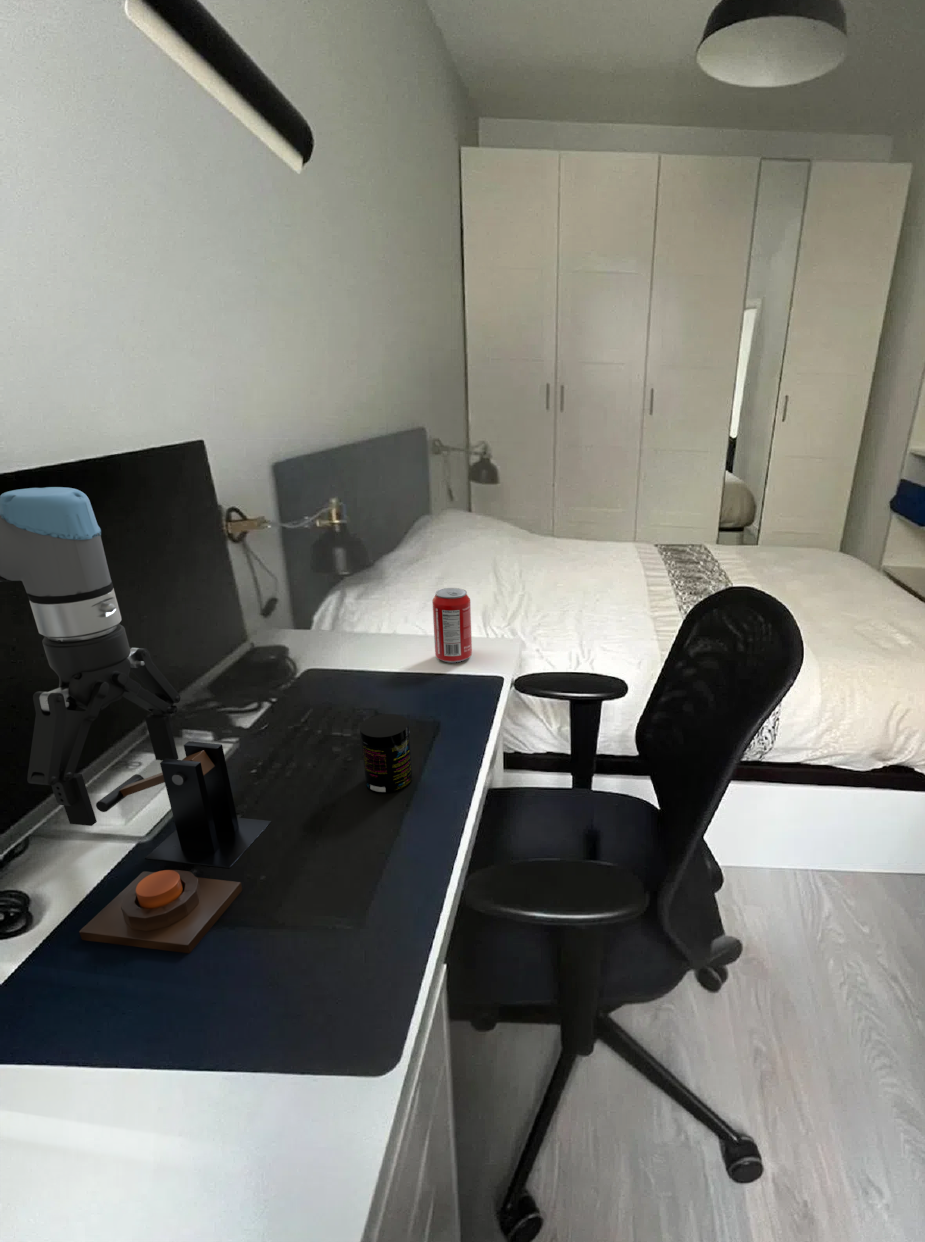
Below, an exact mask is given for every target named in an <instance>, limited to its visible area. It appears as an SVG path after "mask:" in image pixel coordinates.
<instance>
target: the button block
mask: <svg viewBox="0 0 925 1242" xmlns="http://www.w3.org/2000/svg"><path fill="white" fill-rule="evenodd" d="M171 870H172V871H175V872H177V873H178V874H179V876H180V880H181V884H182V888H183V890H182V893H181V895H180V896H179V897H178V898H177V899H176V900H174V901H172V902H171V903H169V904H167V905H165V906H162V907H158V908H154V909H145V908H143V907H141V906H140V904H139V901H138V898H137V894H136V887H137V885H138V883H139V882H140V881H141V880H142V879H144V878H145V877H147V876H149V875H151V874H153V873H155V872H156V871H145V870H144V871H142V872H141V873H140V874H139V875H138V876H136V878H135V879H133V880H132V881H131V882H130V883H129V884H128V885H127V886H126V887H124V889H123V890H122V891H120V892H119V894H117V895H116V896H115V897H114V898H113V899H112V900H111V901H110V902H109V903H107V905H105V907H104V908H102V909H101V910H100V911H99V912H98V913H97V914H96V915H95V916H94V917H93V918H92V919H90V921H88V922H87V923H86V925H84V926H83V927H82V928H81V929H80V930H79V931H78V933H79V936H80V939H81V941H88V942H95V943H102V944H103V943H104V944H113V945H118V946H119V945H120V946H127V947H128V946H129V947H135V948H144V949H150V950H159V951H167V952H168V951H169V952H175V953H184V954H191V953H192V952H193V950H194V949H195V948H196V946H198V944H199V943H200V942H201V941H202V940H203V938H204V937H205V936H206V935H207V934H208V932H209V931H210V930H211V929H212V927H213V926H214V925H215V924H216V923H217V921H219V919H220V918H221V916H222V915H223V914H224V913H225V912H226V911H227V909H228V908H229V907H230V906H231V904H233V902H234V901H235V900H236V898H237V897H238V896H239V895H240V894H241V893H242V891H243V887H242V882H241V881H232V880H225V879H224V880H223V879H217V878H216V879H214V878H207V877H206V878H205V877H198V876H195V874H193V873H192V872H191V871H189V870H179V869H171Z"/></svg>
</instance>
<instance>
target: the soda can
mask: <svg viewBox="0 0 925 1242" xmlns="http://www.w3.org/2000/svg"><path fill="white" fill-rule="evenodd" d="M434 593H435V594H434V597H433V598H432V601H431V602H432V604H431V605H432V621H433V623H432V624H433V638H434V642H433V643H434V654H435V658H437V659H438V660H440V661H442V662H444V663H448V664H456V662H457V663H461V661H462V662H464V661H466V660H468V659H469V658H471V656H472V654H473V643H472V642H473V639H472V610H471V609H472V607H471V598H470V597H469V595H468V594H467V593H468V592H467V590H465V589H463V588H459V587H445V588H444V587H443V588H440V589H438V590H436V591H435V592H434Z"/></svg>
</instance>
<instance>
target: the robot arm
mask: <svg viewBox="0 0 925 1242" xmlns="http://www.w3.org/2000/svg"><path fill="white" fill-rule="evenodd" d="M20 581H21V582H22V585H23V586H24V589H25V592H26V594H27V598H28V601H29V604H30V608H31V611H32V614H33V618H34V621H35V625H36V628H37V631H38V634H39V635H42V636H43V639H42V641H41V643H42V646H43V650H44V653H45V656H46V659H47V662H48V665H49V667H50V669H51V670H52V671H54V672H55V674H56V675H57V676H58V678H59V679H58V680H59V683H58V687H57V688H54V689H51V690H49V691H42V690H39V691H36V692H34V694H33V695H32V700H33V705H34V710H35V719H34V724H33V725H34V726H33V733H32V741H31V749H30V755H29V763H28V769H27V770H28V771H27V777H26V782H27V783H28V784H35V785H42V786H43V785H44V786H51V789H52V793H53V795H54V798H55V800H56V803H57V804H58V805H59V806H63V808H64V811H65V813H66V816H67V819H68V822H69V824H70V825H79V826H87V827H93V826H94V825H95V824H96V823H97V822H98V820H97V817H96V814H95V812H94V808H93V805H92V802H91V798H90V796H89V792H88V789H87V787H86V786H87V785H86V782H85V780H84V776H83V774H82V773H76V771H77V767H78V764H79V761H80V758H81V755H82V752H83V749H84V746H85V743H86V740H87V737H88V734H89V731H90V728H91V725H92V723H93V722H94V721H96V720H97V718H98V716H99V714H100V711H103V710H104V709H106V708H107V707H109V705H111V704H112V703H115V702H118V701H120V700H121V699H122V700H123V698H124V699H126V700H128V701H130V702H131V703H133V704H135V705H137V706H138V707H139V708H141V709H144V710H145V711H147V712H148V713H152V714H147V715H146V716H144V720H145V723H146V728H147V732H148V735H149V739H150V742H151V746H152V750H153V754H154V758H155V761H163V760H165V759H175V760H180V758H179V754H178V750H177V746H176V742H175V738H174V733H175V732H174V731H175V728H174V724H173V720H172V716H171V715H176V714H177V713H178V705H174V704H179V703H180V702H181V695H180V694H179V693H178V691H177V690H176V689H175V687H174V686H173V685H172V684H171V683H170V682H169V680H168V679H167V678H166V677H165V675H164V674H163V673H162V672H161V671H160V669H158V667H157V666H156V664H155V663H154V662H153V659H152V658H151V653H150V651H149V649H148V648H142V647H140V648H139V647H130V643H129V639H128V636H127V631H126V628H125V626H123V625H121V624H120V623H121V622H122V619H123V618H122V614H121V610H120V606H119V603H118V599H117V595H116V592H115V588H114V584H113V581H112V579H111V574H110V570H109V566H108V561H107V558H106V552H105V549H104V545H103V540H102V528H101V527H100V526H99V524H98V522H97V519H96V515H95V512H94V510H93V506H92V504H91V500H90V499H89V497H88V496H87V494H86V493H84V492H83V491H81V490H79V489H77V488H72V487H63V486H46V487H29V488H27V487H26V488H20V489H13V490H9V491H5V492H3V493H1V494H0V583H1V582H2V583H3V582H6V583H10V582H11V583H12V582H20ZM130 672H132V673H133V674H134V676H135V677H136V678H137V679H138V680H139V681H140V683H139V682H137V681H136V680H134V679H132V678H131V677H130ZM141 683H142V684H141ZM142 685H143V686H144V687H145V688H144V687H142ZM77 707H79V708H80V709H83V710H77ZM61 767H62V768H61Z"/></svg>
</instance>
